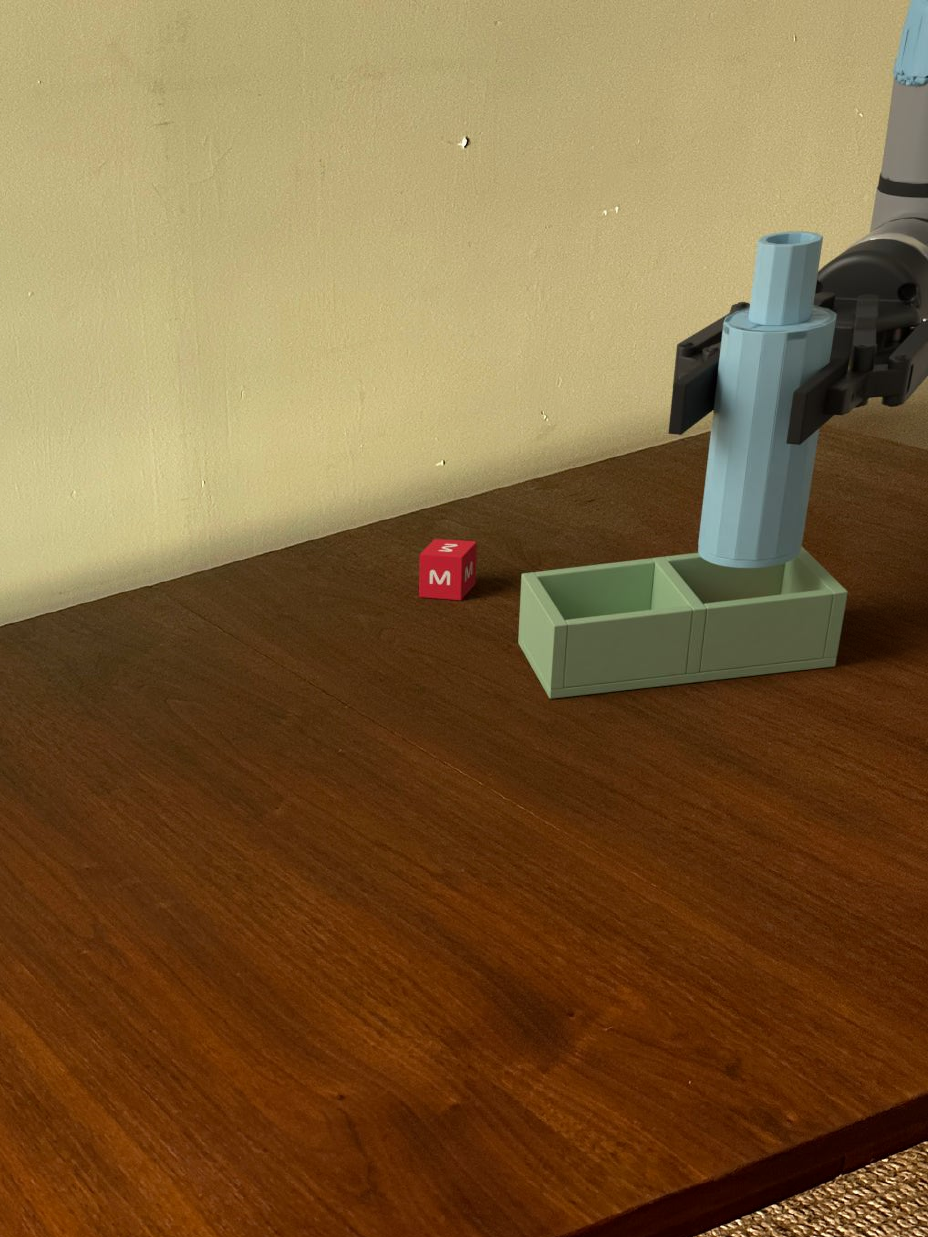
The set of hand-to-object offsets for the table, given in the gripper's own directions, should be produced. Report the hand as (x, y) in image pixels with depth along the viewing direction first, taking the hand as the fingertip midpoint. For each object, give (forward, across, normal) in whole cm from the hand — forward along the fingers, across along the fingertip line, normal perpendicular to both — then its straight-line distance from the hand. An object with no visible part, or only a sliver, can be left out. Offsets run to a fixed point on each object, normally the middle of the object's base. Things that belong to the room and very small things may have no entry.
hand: (736, 413), depth 97 cm
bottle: (-5, 0, -9) cm, 11 cm away
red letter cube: (-7, +21, -16) cm, 27 cm away
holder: (-3, +3, -15) cm, 16 cm away
